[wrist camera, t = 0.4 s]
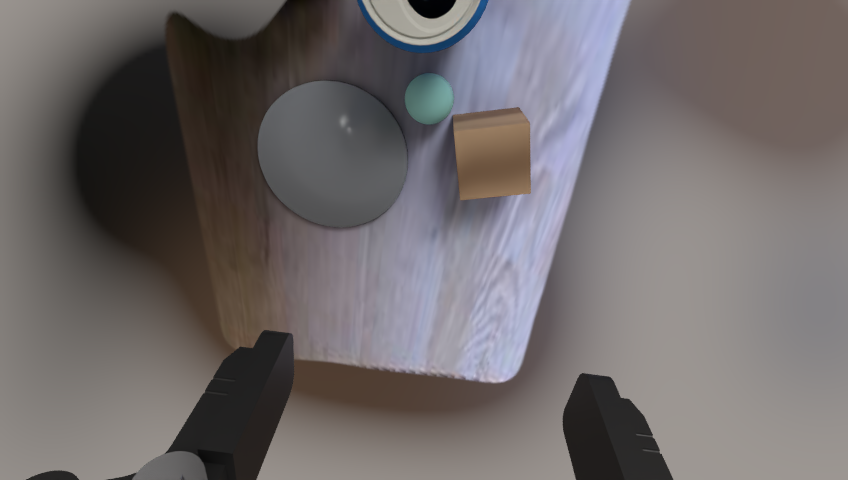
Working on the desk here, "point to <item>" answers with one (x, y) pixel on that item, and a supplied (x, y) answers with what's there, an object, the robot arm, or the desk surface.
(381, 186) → the coaster
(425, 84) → the teal ball
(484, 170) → the walnut cube
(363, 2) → the beverage can
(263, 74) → the desk surface
